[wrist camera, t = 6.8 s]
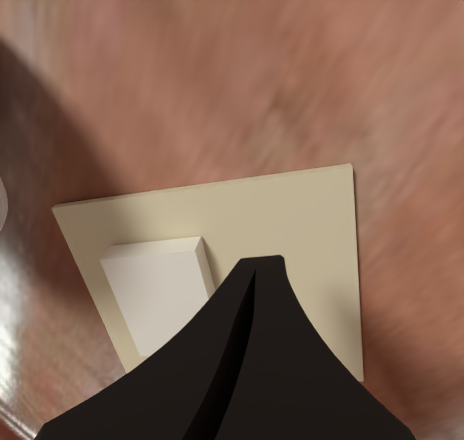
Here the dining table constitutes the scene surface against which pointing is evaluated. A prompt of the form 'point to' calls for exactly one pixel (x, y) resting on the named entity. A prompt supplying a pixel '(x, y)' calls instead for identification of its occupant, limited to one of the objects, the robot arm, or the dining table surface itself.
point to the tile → (158, 287)
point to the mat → (237, 243)
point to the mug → (3, 204)
